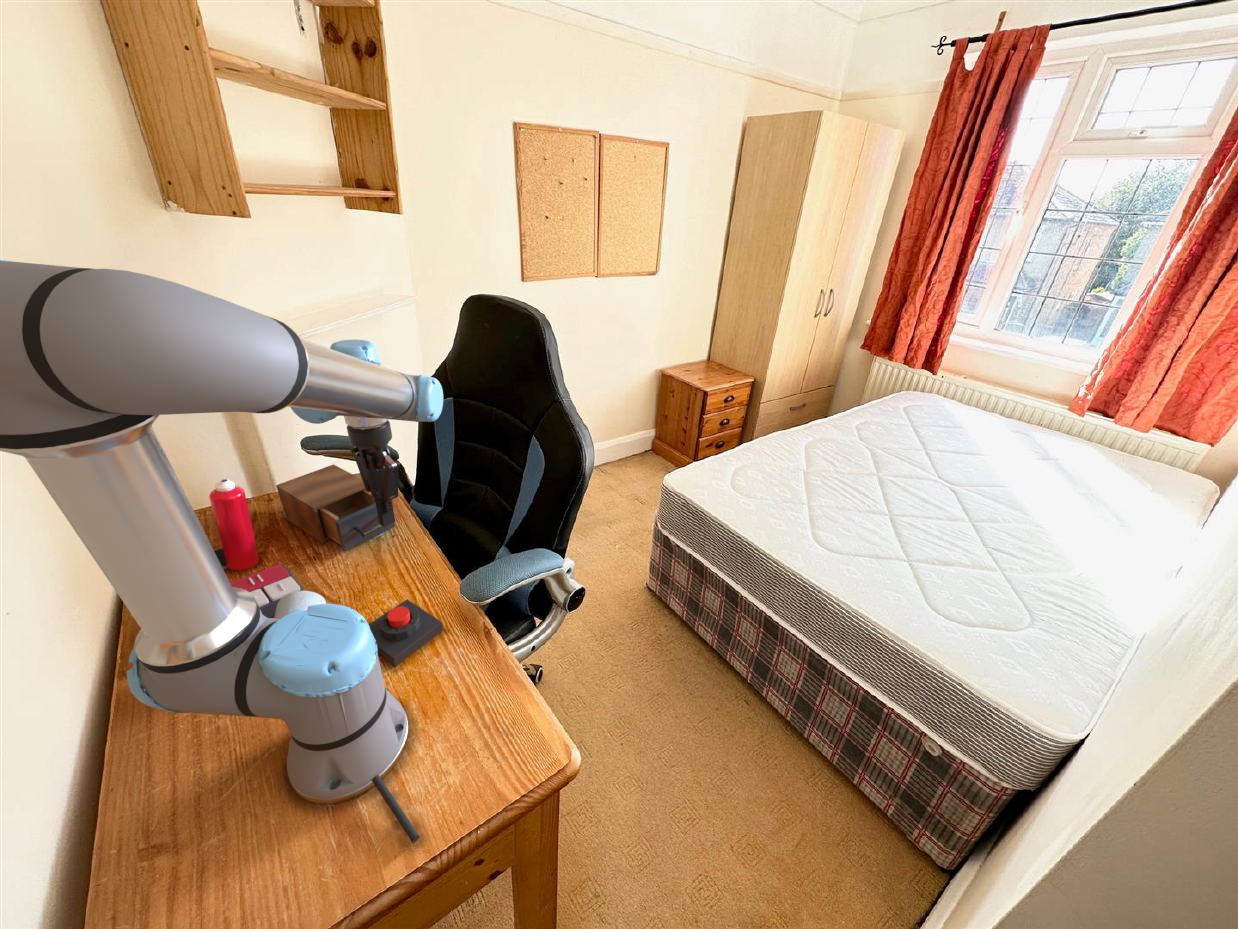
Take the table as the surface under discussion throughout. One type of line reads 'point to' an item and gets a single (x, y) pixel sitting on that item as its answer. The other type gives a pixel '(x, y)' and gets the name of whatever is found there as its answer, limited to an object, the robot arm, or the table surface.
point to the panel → (404, 634)
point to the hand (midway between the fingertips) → (387, 522)
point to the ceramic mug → (297, 602)
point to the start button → (398, 617)
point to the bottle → (234, 525)
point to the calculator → (269, 587)
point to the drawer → (352, 520)
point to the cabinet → (316, 496)
